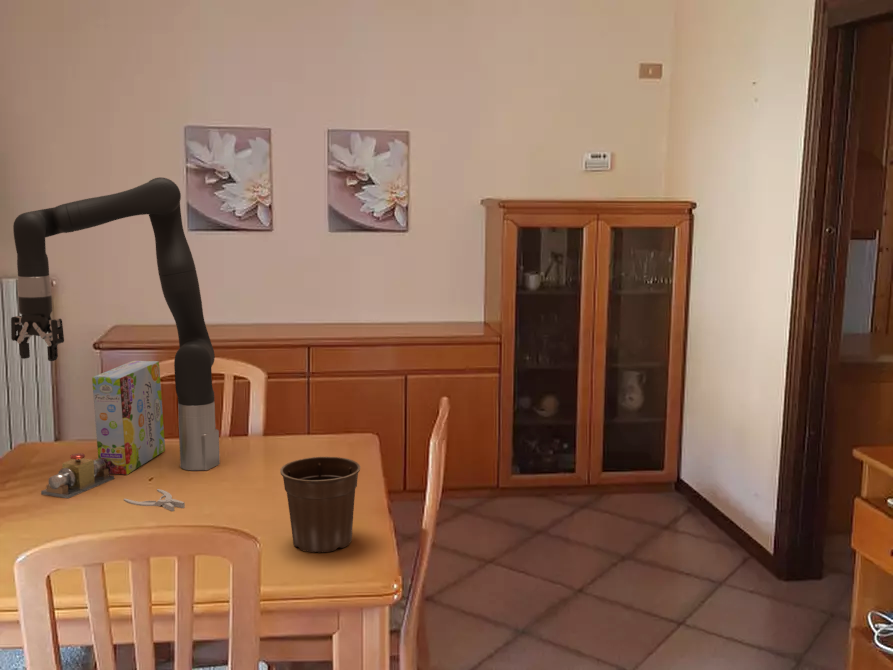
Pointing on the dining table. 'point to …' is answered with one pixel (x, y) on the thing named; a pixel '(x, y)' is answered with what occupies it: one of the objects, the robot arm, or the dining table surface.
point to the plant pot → (321, 501)
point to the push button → (81, 469)
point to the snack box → (129, 415)
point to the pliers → (160, 501)
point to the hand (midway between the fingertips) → (38, 359)
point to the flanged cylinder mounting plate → (66, 479)
